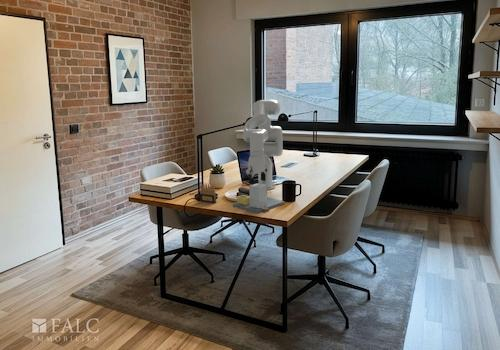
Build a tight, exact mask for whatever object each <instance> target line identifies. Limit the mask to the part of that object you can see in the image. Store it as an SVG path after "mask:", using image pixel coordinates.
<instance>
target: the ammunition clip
mask: <svg viewBox="0 0 500 350" xmlns="http://www.w3.org/2000/svg"><path fill="white" fill-rule="evenodd" d="M199 185H200V187H199V188H200V189H199V202H200V201H201V202H200V203H209V204H216V203H217V198H216V197H217V195H216V189H215V184H212V183H210V184H209V183H208V184H207V183H205V182H203V183H202V182H200V184H199Z"/></svg>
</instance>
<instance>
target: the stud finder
mask: <svg viewBox="0 0 500 350" xmlns="http://www.w3.org/2000/svg"><path fill="white" fill-rule="evenodd" d="M236 201H237V203H239V204H243V205H248V204H250V195H246V194H241V195H237V197H236Z"/></svg>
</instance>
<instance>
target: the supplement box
mask: <svg viewBox="0 0 500 350" xmlns="http://www.w3.org/2000/svg"><path fill="white" fill-rule="evenodd" d="M267 191H268V190H267V188H266V185H263V184H259V182H257V183H254V185H252V184H249V196H250V207H255V208H262V207H265V206H267Z"/></svg>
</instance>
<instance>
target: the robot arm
mask: <svg viewBox="0 0 500 350" xmlns="http://www.w3.org/2000/svg"><path fill="white" fill-rule="evenodd" d="M252 111H253V116H252V117H251V118H249V119H248V120H247V121H246V122H245V123H244V126H243V133H242V136H243V137H242V139H243V140H244V141H245V142H247V143H249V157H248V162H247V169H246V170H245V173H246V176H247V177H248V181H249V182H248V183H249V185H254V184H255V179H254V178H255V177H254V176H255V175H257V174H258V178H257V179H258V184H263V185H266V188H267V191H268V190H269V191H270V190H273V189H275V187H276V186H275V184H276V183H278V182H277V180H275V179H274V180H273V162H272V159H271V158H270V157H281V156H282V155H283V152H284V151H283V150H284V149H283V147H284V146H283V145H284V144H283V143H284V142H283V140H284V139H283V138H284V137H283V129H282V127H281V126H278V125H272V120H271V119H272V118H271V116H277V115H279V114H280V111H281V106H280V102H279V101H278V100H276V99H260V100H257V101H255V102H254V103H252Z"/></svg>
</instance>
